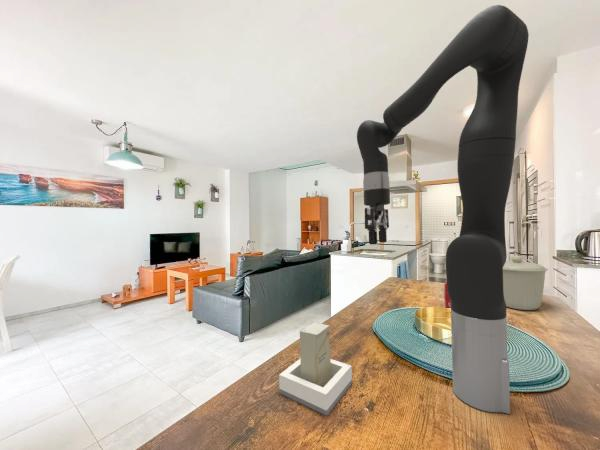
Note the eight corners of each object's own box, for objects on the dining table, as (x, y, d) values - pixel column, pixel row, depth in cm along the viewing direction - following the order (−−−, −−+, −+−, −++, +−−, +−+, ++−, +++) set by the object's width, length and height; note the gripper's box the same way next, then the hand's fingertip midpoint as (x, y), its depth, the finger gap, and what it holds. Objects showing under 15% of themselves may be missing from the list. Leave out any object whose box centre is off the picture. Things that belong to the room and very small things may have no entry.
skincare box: (318, 395, 51) (316, 335, 51) (300, 387, 54) (298, 331, 54) (331, 378, 56) (330, 324, 56) (314, 372, 59) (313, 321, 59)
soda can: (469, 313, 97) (468, 282, 97) (451, 314, 97) (450, 283, 97) (458, 307, 104) (457, 278, 104) (441, 308, 104) (440, 279, 104)
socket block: (352, 383, 56) (351, 365, 56) (326, 416, 47) (326, 394, 47) (309, 367, 63) (308, 351, 63) (279, 393, 54) (279, 374, 54)
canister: (486, 306, 104) (484, 256, 104) (495, 297, 116) (493, 252, 116) (547, 317, 91) (545, 259, 91) (550, 305, 103) (548, 254, 103)
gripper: (381, 184, 67) (383, 245, 67) (395, 190, 79) (397, 241, 78) (354, 188, 71) (356, 244, 71) (372, 192, 83) (374, 241, 83)
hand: (378, 243), depth 75 cm, fingers open, 8 cm apart
